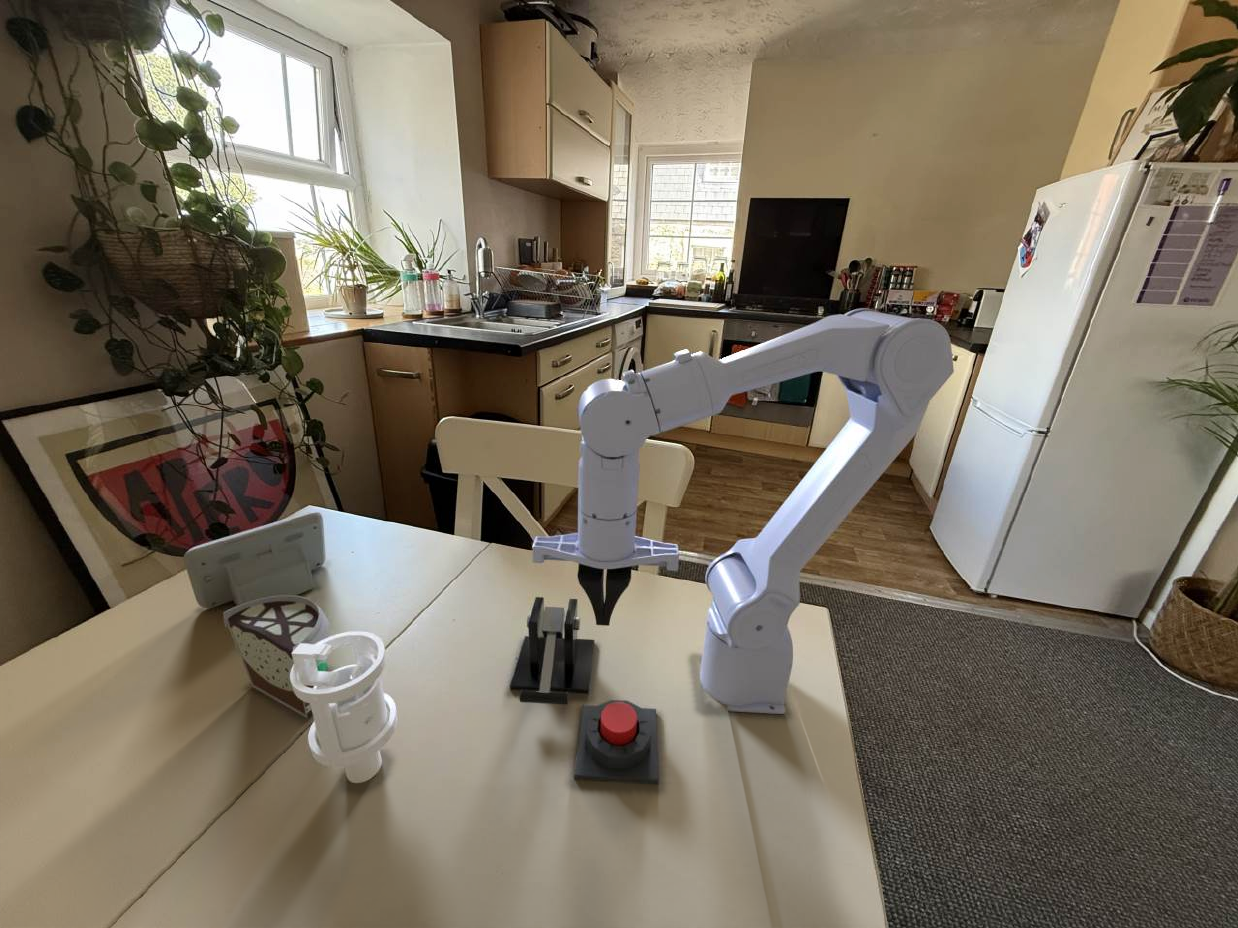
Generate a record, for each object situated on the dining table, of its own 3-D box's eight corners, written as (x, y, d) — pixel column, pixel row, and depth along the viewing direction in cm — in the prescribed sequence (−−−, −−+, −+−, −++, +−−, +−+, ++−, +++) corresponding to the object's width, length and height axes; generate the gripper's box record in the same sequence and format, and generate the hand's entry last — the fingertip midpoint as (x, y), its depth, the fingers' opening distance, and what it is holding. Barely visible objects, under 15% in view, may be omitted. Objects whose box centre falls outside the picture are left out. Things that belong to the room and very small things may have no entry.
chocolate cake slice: (367, 682, 57) (352, 612, 53) (317, 723, 52) (296, 649, 48) (296, 646, 62) (277, 580, 58) (243, 681, 56) (219, 611, 53)
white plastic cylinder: (348, 736, 51) (319, 619, 45) (417, 740, 50) (396, 622, 45) (306, 807, 44) (266, 680, 38) (384, 811, 44) (356, 684, 38)
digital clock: (329, 558, 79) (316, 499, 75) (340, 587, 73) (326, 524, 69) (200, 594, 70) (177, 529, 66) (199, 631, 64) (173, 561, 59)
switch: (567, 706, 53) (566, 702, 51) (521, 704, 53) (518, 699, 51) (577, 615, 59) (576, 607, 57) (535, 613, 59) (532, 605, 57)
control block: (655, 716, 54) (657, 695, 53) (658, 788, 47) (660, 766, 46) (582, 712, 54) (582, 691, 53) (574, 783, 47) (574, 761, 46)
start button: (636, 715, 51) (637, 702, 51) (636, 746, 48) (637, 733, 47) (601, 713, 51) (602, 700, 51) (599, 744, 48) (599, 731, 47)
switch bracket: (588, 697, 56) (589, 636, 53) (509, 693, 56) (505, 632, 53) (594, 646, 64) (595, 590, 60) (524, 642, 64) (521, 586, 60)
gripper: (679, 492, 51) (668, 599, 57) (540, 484, 52) (542, 591, 57) (685, 526, 45) (672, 643, 50) (526, 517, 45) (530, 634, 50)
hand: (603, 619), depth 53 cm, fingers closed
